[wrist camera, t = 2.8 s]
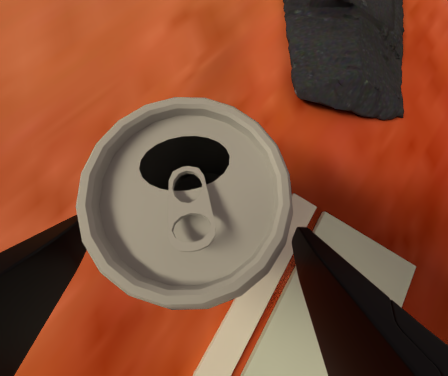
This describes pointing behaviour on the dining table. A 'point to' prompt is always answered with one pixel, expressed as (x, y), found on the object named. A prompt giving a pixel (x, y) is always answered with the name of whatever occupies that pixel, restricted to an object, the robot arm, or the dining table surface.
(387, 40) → the dark slate chunk
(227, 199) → the can
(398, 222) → the dining table surface
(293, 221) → the strip
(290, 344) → the pad
